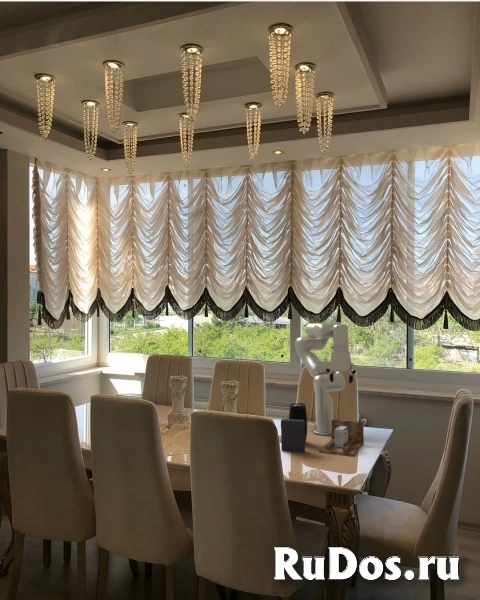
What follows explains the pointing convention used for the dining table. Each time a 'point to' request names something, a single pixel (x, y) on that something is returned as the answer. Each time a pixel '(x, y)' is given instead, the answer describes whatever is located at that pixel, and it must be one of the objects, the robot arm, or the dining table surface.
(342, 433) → the medicine box
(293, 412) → the portable speaker
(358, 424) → the book rack
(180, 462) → the dining table surface
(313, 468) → the dining table surface
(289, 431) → the calculator
